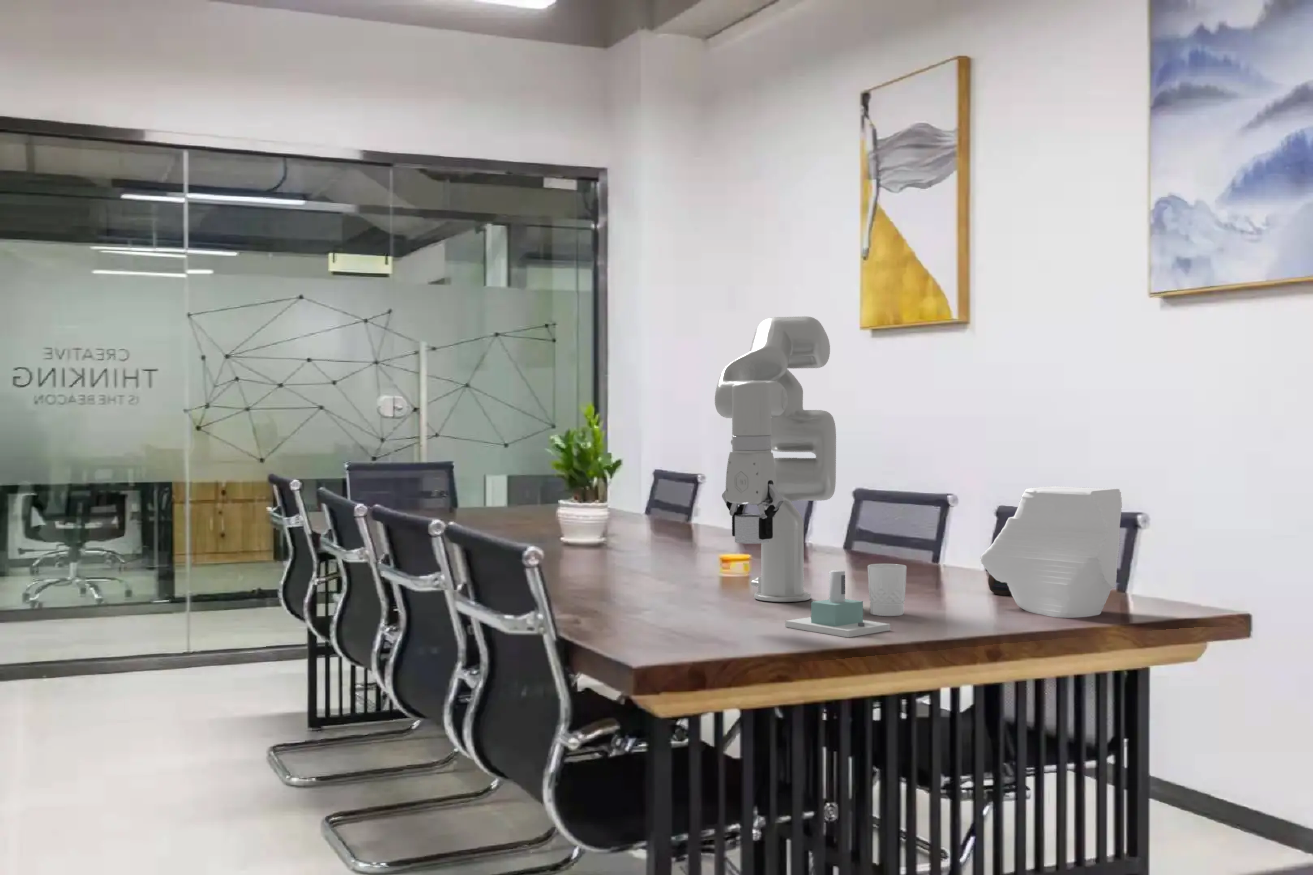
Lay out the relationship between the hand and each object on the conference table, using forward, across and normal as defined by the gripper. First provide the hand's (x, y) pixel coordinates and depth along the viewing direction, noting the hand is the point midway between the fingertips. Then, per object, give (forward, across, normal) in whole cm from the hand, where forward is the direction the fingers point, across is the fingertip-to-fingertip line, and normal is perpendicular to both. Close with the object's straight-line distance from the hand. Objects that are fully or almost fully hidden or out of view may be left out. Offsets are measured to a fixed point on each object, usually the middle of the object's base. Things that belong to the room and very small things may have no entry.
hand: (752, 536), depth 247 cm
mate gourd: (+19, +4, +76) cm, 79 cm away
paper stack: (+18, +26, +64) cm, 72 cm away
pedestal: (+17, +12, +10) cm, 24 cm away
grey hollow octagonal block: (+1, 0, 0) cm, 1 cm away
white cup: (+18, +6, +32) cm, 38 cm away
